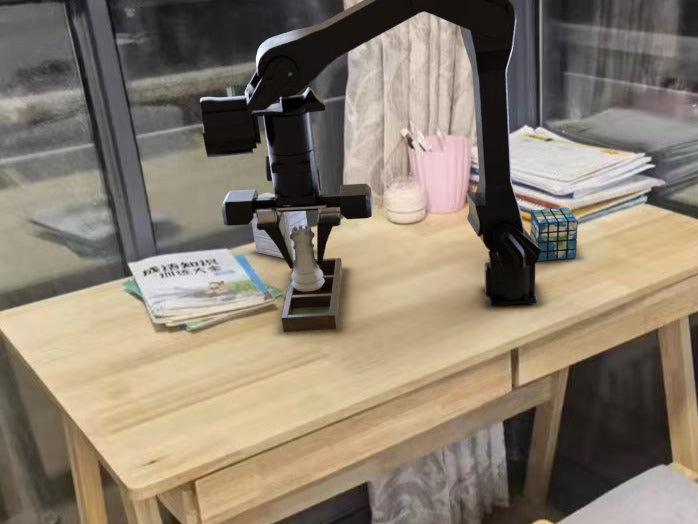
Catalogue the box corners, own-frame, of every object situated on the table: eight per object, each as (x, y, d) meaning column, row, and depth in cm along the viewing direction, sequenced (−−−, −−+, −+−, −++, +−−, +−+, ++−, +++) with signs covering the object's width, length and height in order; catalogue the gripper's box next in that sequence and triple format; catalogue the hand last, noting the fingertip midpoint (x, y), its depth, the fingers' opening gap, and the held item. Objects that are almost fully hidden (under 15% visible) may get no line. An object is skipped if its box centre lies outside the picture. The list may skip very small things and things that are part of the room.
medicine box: (311, 252, 150) (305, 198, 145) (293, 262, 147) (286, 208, 142) (273, 243, 153) (266, 191, 149) (255, 252, 150) (247, 199, 145)
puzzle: (576, 258, 144) (578, 220, 141) (537, 261, 144) (538, 223, 141) (566, 243, 149) (568, 206, 146) (529, 246, 149) (530, 209, 145)
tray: (342, 270, 143) (341, 257, 142) (336, 329, 127) (334, 315, 126) (295, 272, 143) (294, 259, 142) (283, 332, 127) (281, 317, 126)
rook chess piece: (331, 284, 127) (325, 227, 123) (306, 295, 124) (299, 237, 120) (310, 275, 130) (303, 219, 125) (284, 286, 127) (277, 229, 123)
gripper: (368, 127, 124) (377, 240, 132) (225, 134, 123) (243, 247, 132) (366, 152, 115) (376, 272, 123) (212, 160, 114) (232, 280, 123)
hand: (306, 266), depth 126 cm, fingers closed on rook chess piece, 3 cm apart
